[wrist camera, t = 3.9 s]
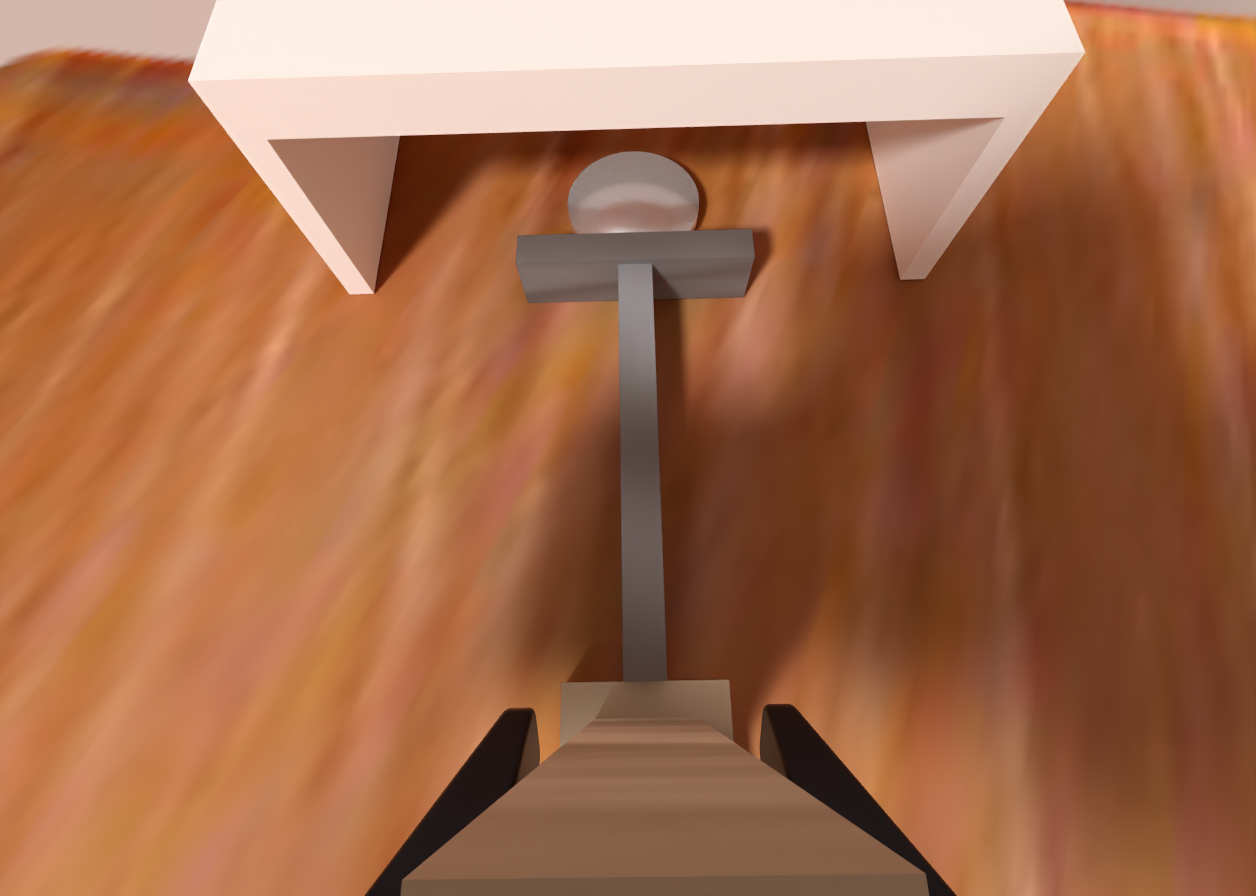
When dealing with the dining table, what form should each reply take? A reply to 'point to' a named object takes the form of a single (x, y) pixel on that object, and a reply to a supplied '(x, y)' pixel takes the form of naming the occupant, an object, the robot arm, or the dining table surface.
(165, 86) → the dining table surface
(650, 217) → the steel token
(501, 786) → the robot arm
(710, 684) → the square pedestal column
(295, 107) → the white footstool bench
